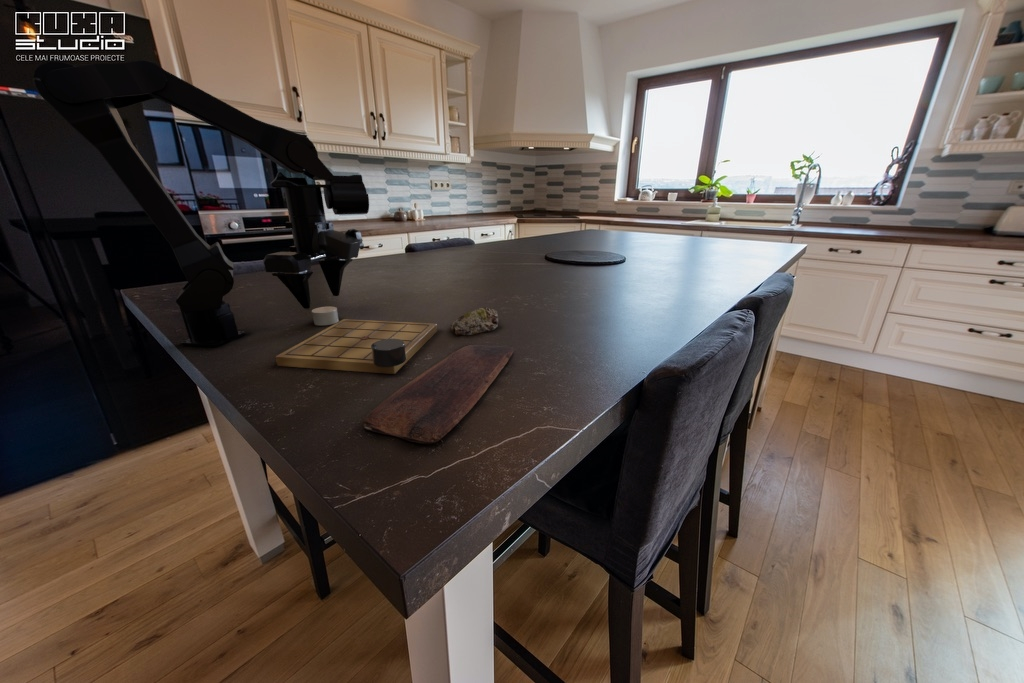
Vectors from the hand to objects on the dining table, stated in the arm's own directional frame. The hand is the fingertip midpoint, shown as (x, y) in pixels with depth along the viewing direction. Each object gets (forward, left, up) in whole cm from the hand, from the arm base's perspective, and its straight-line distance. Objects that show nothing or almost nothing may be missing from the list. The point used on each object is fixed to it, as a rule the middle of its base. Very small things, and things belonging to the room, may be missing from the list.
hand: (322, 301), depth 75 cm
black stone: (+22, -19, -2) cm, 29 cm away
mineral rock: (+29, +1, -4) cm, 29 cm away
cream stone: (0, 0, -4) cm, 4 cm away
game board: (+14, -11, -4) cm, 18 cm away
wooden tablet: (+32, -22, -4) cm, 39 cm away
